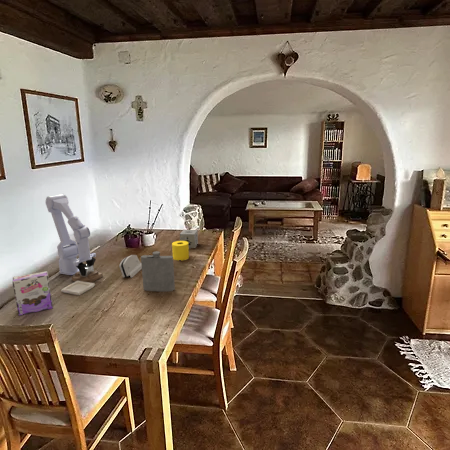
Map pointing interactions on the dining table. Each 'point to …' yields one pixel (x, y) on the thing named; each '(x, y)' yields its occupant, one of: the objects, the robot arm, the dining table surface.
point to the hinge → (130, 266)
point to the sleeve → (88, 270)
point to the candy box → (32, 293)
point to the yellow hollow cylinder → (180, 250)
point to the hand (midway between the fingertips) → (86, 273)
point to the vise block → (90, 278)
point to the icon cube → (190, 237)
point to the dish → (78, 287)
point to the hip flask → (157, 272)
